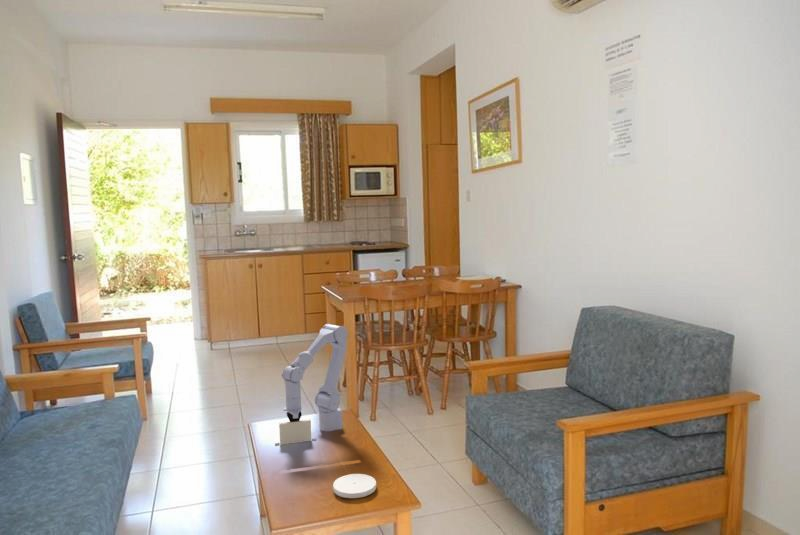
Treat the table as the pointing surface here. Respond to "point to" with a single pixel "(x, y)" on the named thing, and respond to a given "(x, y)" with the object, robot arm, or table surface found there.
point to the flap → (295, 431)
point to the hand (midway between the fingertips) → (294, 430)
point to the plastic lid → (354, 485)
